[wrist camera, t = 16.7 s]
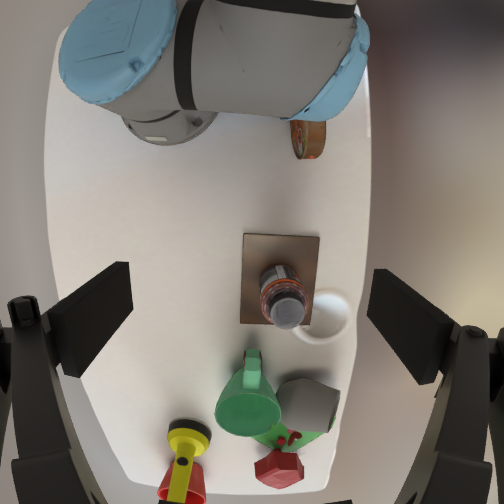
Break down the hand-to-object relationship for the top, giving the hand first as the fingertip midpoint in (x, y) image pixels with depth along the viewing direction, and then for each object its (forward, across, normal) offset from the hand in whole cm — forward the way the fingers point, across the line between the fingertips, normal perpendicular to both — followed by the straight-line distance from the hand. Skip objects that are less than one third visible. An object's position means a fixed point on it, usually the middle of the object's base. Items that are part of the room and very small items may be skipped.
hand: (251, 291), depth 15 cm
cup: (+25, +6, -30) cm, 40 cm away
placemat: (+28, +4, -9) cm, 30 cm away
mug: (+28, 0, -25) cm, 38 cm away
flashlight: (+28, -11, -43) cm, 53 cm away
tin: (+29, +7, +16) cm, 33 cm away
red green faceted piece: (+28, +9, -43) cm, 52 cm away
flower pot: (+28, -13, -58) cm, 66 cm away
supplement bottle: (+28, +4, -9) cm, 30 cm away
